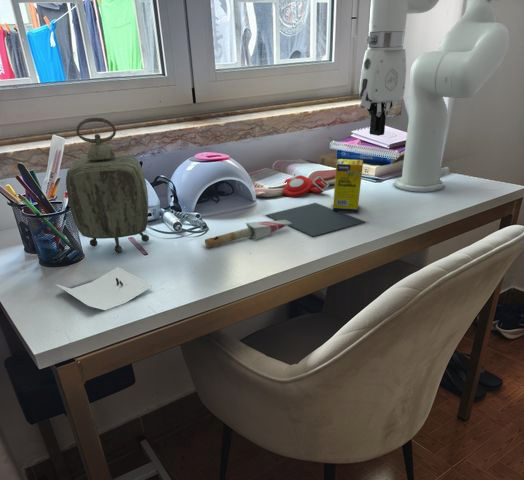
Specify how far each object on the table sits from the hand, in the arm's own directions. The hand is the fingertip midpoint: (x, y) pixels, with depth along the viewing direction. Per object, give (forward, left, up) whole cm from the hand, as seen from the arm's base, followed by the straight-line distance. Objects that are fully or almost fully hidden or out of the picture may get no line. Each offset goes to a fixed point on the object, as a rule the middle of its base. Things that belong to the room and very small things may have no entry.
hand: (376, 134), depth 116 cm
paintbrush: (+37, +2, -16) cm, 41 cm away
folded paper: (+71, +9, -16) cm, 74 cm away
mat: (+19, +1, -16) cm, 25 cm away
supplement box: (+8, 0, -16) cm, 18 cm away
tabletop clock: (+62, -9, -16) cm, 65 cm away
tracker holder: (+8, -17, -16) cm, 25 cm away
